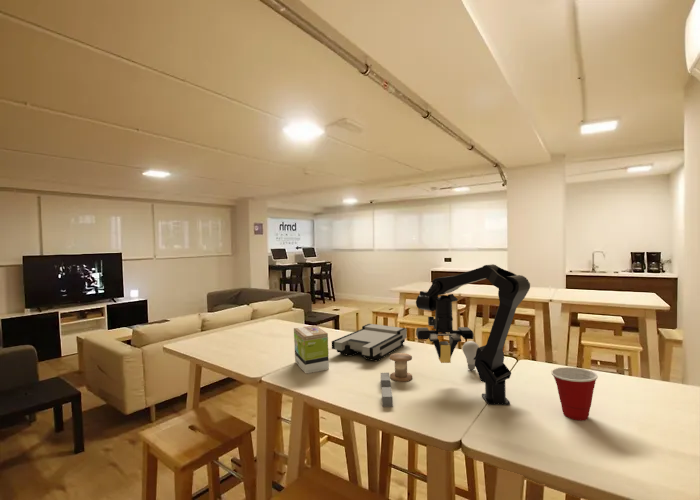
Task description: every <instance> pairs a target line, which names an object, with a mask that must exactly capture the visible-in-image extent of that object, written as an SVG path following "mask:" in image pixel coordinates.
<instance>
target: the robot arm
mask: <svg viewBox="0 0 700 500" xmlns="http://www.w3.org/2000/svg"><path fill="white" fill-rule="evenodd" d="M484 280H488V281H489V282H490V283H491V285H492V286H493V287H495V288H496V289H498V293H497V296H498V300H499V304H498V307H497V310H496V314H495V317H494V320H493V322H492V326H491V328H490V332H489V336H488V339H487V341H486V344H485V345H482V346H479V348H477V351H476V356H475V358H474V360H475V369H476V371H477V374H478V377H479V381H480V382H482V383H484V386H485V387H484V391H485V392H484V393H481V396H482V398H483V399H484V401H485V402H486V403H487V404H488V405H511V402H510V400H509V399H508V398H507V395H506V389H507V387H506V380H509V379H510V378H511V375H512V371H510V369H509V368H508V367H507V365H506V364H505V363H504V362H505V361H504V360H505V354H504V346H505V344H506V340H507V337H508V335H509V331H510V328H511V326H512V322H513V320H514V316H515V313H516V310H517V308H518V306H519V305H520V304H521V303H522V302H523V300H524V299H525V297H526V296H527V294H528V293H529V291H530V288H531V283H530V282H529V279H527V277H525V276H524V275H522V274H521V275H520V274H515V273H514V272H512V271H509V270H506V269H504V268H502V267H501V266H498V265H497V264H492V263H491V264H485V265H482V266H481V267H478V268H475V269H471V270H468V271H466V272H465V271H464V272H462V273H459V274H456V275H450V276H442V277H440V276H439V277H436V278H434V279H432V283H431V285H430V287H429V289H428V290H421V291H419V295H418V296H417V298H416V300H415V305H416V307H417V308H418V310H422V311H430V312H434V313H435V315H434V316H428V317H427V325H428V326H429V327H433V330H431V329H429V328H428V327H417V328H416V329H415V336H416V338H417V339H418V340H429V341H430V342H432V343H433V345H434V348H435V351H436V354H437V356H438V359H439V358H440V344H439V342H440V339H439V338H438V336H439V337H441V336H442V337H447V336H448V339H449V342H448V343H449V344H450V356H451V357H452V356H453V353H454V351H455V348H456V347H457V345H458V344H459V343H460V342H462V339H461V337H462V338H463V339H464V340H474V339H475V337H474V335H475V334H474V331H473V330H472V329H471V328H470V327H468V326H466V327H465V326H459V327H457V329H453V321H454V317H453V302H458V298H457V297H456V296H455V295H454V294H453V292H455V291H457V290H459V288H461V287H463V286H466V285H469V284H473V283H476V282H480V281H484ZM445 294H448V295H445Z"/></svg>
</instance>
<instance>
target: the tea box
mask: <svg viewBox="0 0 700 500" xmlns="http://www.w3.org/2000/svg"><path fill="white" fill-rule="evenodd" d="M293 339H294V340H293V342H294V362H295V363H296V364H297V365H298V367H299V368H300V369H301V370H302V371H303V372H304V374H305V373H308V374H312V372H313V373H317V372H323V371H328V370H329V369H330V361H329V337H328V332H326V331H325V330H324V329H323V328H321V327H319V326H317V325H315V324H314V325H306V326H302V327H294V328H293Z"/></svg>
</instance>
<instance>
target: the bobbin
mask: <svg viewBox="0 0 700 500" xmlns="http://www.w3.org/2000/svg"><path fill="white" fill-rule="evenodd" d="M389 359H390V360H391V361H393V362H394V372H391V373H389V376H390V380H392V381H394V382H400V383H401V382H402V383H406V382H410V381H411V380H413V374H412V373H409V372H408V362H409V361H412V360H413V356H412V355H411V354H409V353H404V352H395V353H390V354H389Z"/></svg>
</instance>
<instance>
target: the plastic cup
mask: <svg viewBox="0 0 700 500" xmlns="http://www.w3.org/2000/svg"><path fill="white" fill-rule="evenodd" d="M550 372H551V375H552V376H553V378H554V381H555V384H556V386H557V387H556V388H557V393H558V397H559V401H560V405H561V409H562V413H563V415H564V416H565V417H567V418H569V419H571V420H575V421H586V420H588V419H589V415H590V411H591V407H592V401H593V396H594V390H595V386H596V381H597V379H598V377H599V376H598V374H597V373H596V372H594V371H592V370H589V369H585V368H580V367H569V366H568V367H564V366H563V367H556V368H553V369H551V371H550Z"/></svg>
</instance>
